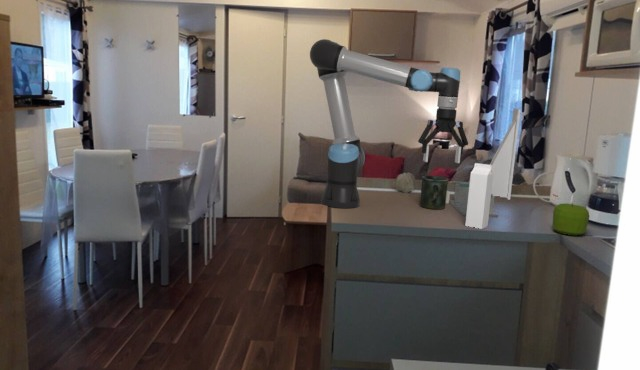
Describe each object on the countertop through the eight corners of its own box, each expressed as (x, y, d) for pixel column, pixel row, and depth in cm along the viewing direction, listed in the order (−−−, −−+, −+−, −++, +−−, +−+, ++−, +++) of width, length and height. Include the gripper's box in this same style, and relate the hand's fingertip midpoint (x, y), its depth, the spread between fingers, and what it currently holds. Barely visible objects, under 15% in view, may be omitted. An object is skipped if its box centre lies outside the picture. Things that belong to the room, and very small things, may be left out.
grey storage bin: (463, 215, 200) (466, 193, 199) (448, 202, 224) (450, 181, 222) (497, 217, 200) (500, 194, 199) (479, 203, 224) (481, 183, 222)
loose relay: (438, 203, 220) (439, 191, 219) (433, 201, 224) (434, 190, 223) (448, 203, 222) (450, 191, 221) (443, 201, 226) (444, 189, 225)
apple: (555, 236, 177) (559, 204, 175) (547, 228, 188) (551, 198, 186) (590, 239, 175) (595, 207, 174) (580, 231, 186) (585, 200, 184)
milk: (471, 223, 189) (477, 162, 185) (488, 226, 186) (494, 164, 182) (464, 226, 184) (471, 163, 181) (481, 229, 181) (488, 165, 177)
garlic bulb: (413, 197, 243) (422, 178, 240) (403, 196, 236) (413, 176, 234) (397, 187, 249) (406, 168, 246) (387, 186, 242) (397, 167, 240)
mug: (444, 205, 218) (447, 176, 216) (448, 213, 203) (451, 182, 201) (417, 203, 219) (420, 174, 217) (420, 210, 205) (422, 180, 202)
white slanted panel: (475, 189, 259) (483, 106, 252) (505, 191, 256) (515, 108, 248) (476, 196, 240) (486, 107, 233) (510, 199, 237) (520, 109, 229)
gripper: (420, 107, 200) (415, 162, 204) (480, 110, 205) (474, 164, 209) (413, 106, 208) (408, 159, 212) (471, 109, 213) (465, 161, 217)
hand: (441, 162), depth 210 cm, fingers open, 13 cm apart
